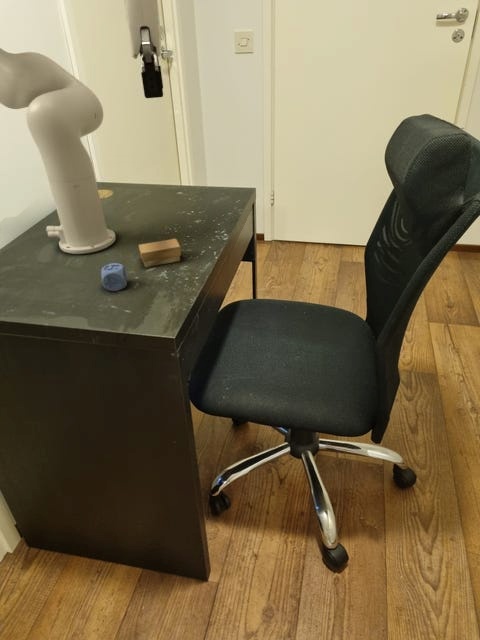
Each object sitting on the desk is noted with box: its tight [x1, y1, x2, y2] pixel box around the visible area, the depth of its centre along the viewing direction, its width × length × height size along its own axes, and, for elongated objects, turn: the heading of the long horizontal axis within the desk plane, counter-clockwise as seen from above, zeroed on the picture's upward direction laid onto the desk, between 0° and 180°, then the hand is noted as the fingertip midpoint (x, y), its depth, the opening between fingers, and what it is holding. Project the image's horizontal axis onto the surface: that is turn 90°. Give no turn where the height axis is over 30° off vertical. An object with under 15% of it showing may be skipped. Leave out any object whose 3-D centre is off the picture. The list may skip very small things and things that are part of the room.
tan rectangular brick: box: [138, 238, 182, 268], centre depth 98 cm, size 8×4×3 cm, turn 108°
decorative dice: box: [100, 262, 128, 292], centre depth 89 cm, size 4×4×4 cm
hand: (154, 93), depth 86 cm, fingers open, 9 cm apart
